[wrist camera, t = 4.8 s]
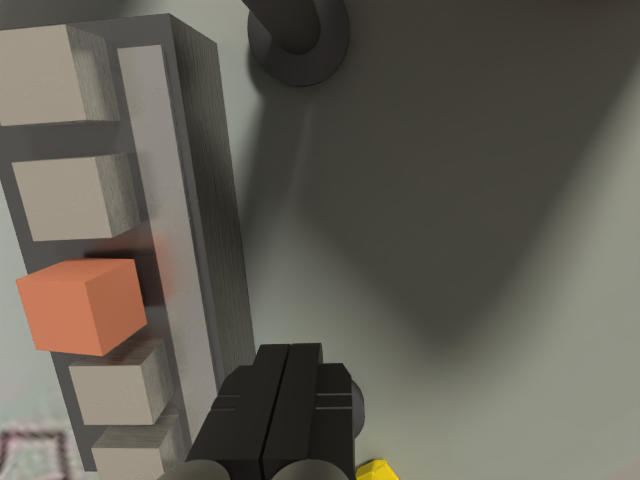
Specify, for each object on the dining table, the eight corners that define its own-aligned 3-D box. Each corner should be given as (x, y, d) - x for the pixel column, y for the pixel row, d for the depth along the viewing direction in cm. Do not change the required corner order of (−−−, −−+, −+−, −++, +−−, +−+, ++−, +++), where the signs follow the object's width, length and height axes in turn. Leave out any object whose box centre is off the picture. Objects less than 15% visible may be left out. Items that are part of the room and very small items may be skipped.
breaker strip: (216, 43, 18) (139, -6, 12) (261, 403, 24) (227, 512, 17) (57, 57, 19) (-104, 19, 12) (136, 403, 24) (56, 508, 18)
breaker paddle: (133, 259, 15) (84, 282, 13) (147, 323, 16) (102, 356, 14) (72, 258, 16) (15, 279, 14) (87, 319, 17) (36, 349, 14)
